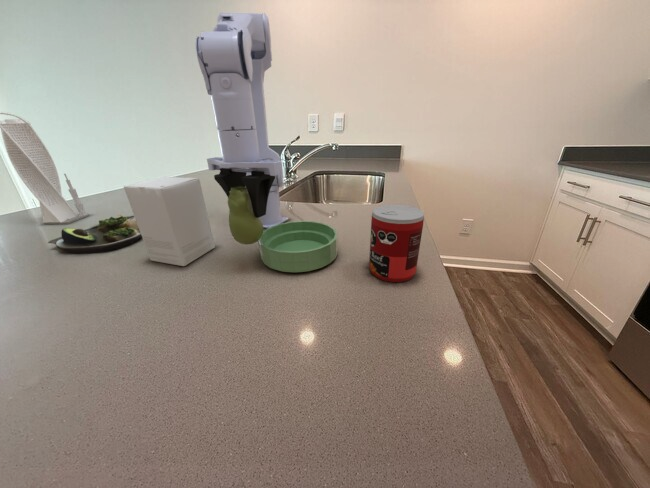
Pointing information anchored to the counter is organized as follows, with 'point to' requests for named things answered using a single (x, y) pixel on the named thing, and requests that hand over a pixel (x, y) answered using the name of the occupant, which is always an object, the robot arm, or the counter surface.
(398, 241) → the canned food
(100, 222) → the salad plate
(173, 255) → the white product box
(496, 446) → the counter surface
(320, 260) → the bowl
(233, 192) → the pear
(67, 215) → the skyscraper
